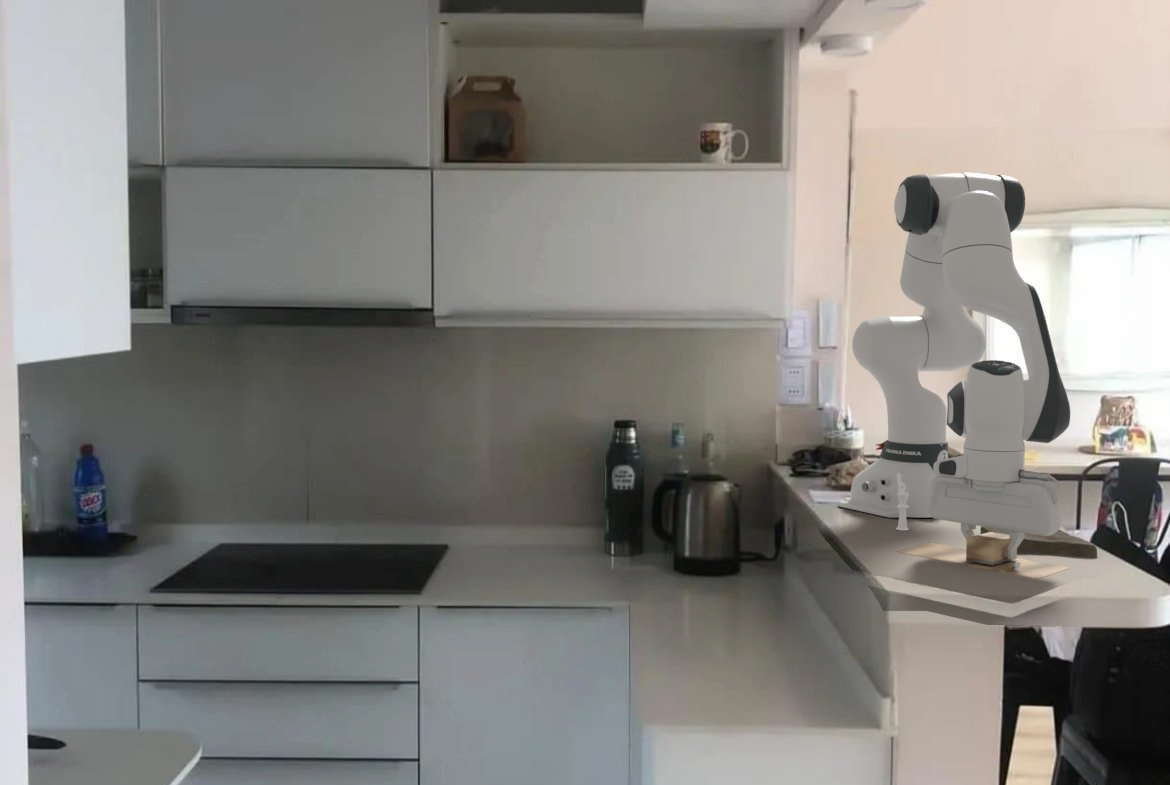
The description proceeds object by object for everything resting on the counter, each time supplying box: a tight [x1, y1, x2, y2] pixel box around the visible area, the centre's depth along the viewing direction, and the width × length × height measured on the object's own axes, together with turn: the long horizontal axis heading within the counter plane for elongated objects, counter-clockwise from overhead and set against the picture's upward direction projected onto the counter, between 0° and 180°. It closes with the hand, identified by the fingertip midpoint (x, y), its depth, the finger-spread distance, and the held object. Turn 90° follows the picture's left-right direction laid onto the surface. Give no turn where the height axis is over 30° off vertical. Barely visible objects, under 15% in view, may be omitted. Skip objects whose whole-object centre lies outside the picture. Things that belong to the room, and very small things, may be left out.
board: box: [894, 542, 1070, 580], centre depth 171 cm, size 24×10×2 cm, turn 41°
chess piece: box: [895, 482, 910, 532], centre depth 194 cm, size 5×5×10 cm
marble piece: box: [979, 526, 1098, 559], centre depth 181 cm, size 17×15×4 cm
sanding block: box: [965, 532, 1013, 565], centre depth 169 cm, size 4×7×4 cm, turn 131°
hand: (991, 555), depth 169 cm, fingers closed on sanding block, 4 cm apart
